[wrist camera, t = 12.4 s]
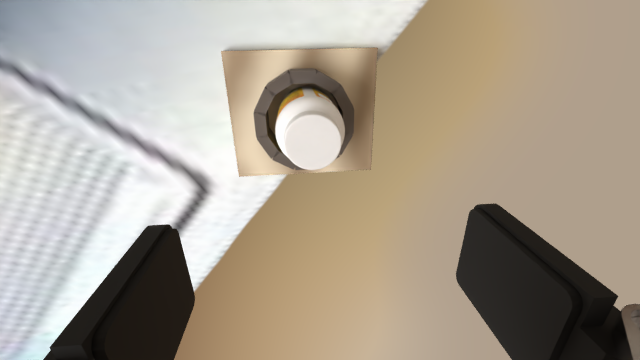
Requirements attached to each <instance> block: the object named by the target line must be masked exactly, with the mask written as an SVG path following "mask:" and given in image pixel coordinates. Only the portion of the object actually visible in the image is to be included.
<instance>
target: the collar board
mask: <svg viewBox="0 0 640 360" xmlns="http://www.w3.org/2000/svg"><path fill="white" fill-rule="evenodd" d="M377 50H378V48H341V49H296V50H251V51H221V54H222V61H223V68H224V75H225V82H226V89H227V96H228V103H229V110H230V117H231V124H232V131H233V138H234V145H235V151H236V158H237V165H238V172H239V177H240V176H259V175H278V174H296V173H316V172H333V171H353V170H371V159H372V141H373V123H374V104H375V85H376V67H377ZM306 86H308V87H313V88H316V89H319V90H320V91H322V92H323V93H324V94H326V95H327V96H328V98H329V99H330V100H331V101H332V103H333V104H334V105H335V107H336V108H337V109H338V111H339V112H340V114H341V116H342V119H343V122H344V126H345V136H344V141H343V144H342V146H341V149H340V152H339V154H338V156H337V158H336V159H335V160H334V161H333V162H332V163H331V164H330V165H328V166H326V167H324V168H322V169H317V170H307V169H303V168H300V167H298V166H297V165H295V164H294V163H293V162H292V161H291V160H290V159H289V158H288V157H287V156H286V155H285V154H284V153H283V152H282V150H281V149H280V147H279V145H278V143H277V139H276V134H275V126H276V120H277V115H278V110H279V106H280V104H281V101H282V100H283V98H284V97H285V96H286V95H287V94H288V93H289V92H290V91H292V90H294V89H296V88H299V87H306Z"/></svg>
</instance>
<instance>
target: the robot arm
mask: <svg viewBox="0 0 640 360" xmlns="http://www.w3.org/2000/svg"><path fill="white" fill-rule="evenodd" d="M456 277H457V282H458V284H459V285H460V287H461V288H462V290H463V291H464V292H465V294H466V295H467V297H468V298H469V300H470V301H471V302H472V304H473V305H474V307H475V308H476V310H477V311H478V312H479V314H480V315H481V317H482V318H483V319H484V321H485V322H486V324H487V325H488V326H489V328H490V329H491V331H492V332H493V334H494V335H495V336H496V338H497V339H498V341H499V342H500V344H501V345H502V346H503V348H504V349H505V351H506V352H507V353H508V355H509V356H510V358H511V359H512V360H640V304H631V305H626V306H625V307H624V308H623V309H622V310H621V311H619V310H618V309H617V308H616V307H614V306H613V305H614V303H615V301H616V299H617V297H618V296H617V295H616V294H615V293H613V292H612V291H611V290H610V289H608V288H607V287H606V286H604V285H603V284H602V283H600V282H599V281H597V280H596V279H595V278H594V277H592V276H591V275H590V274H589V273H587V272H586V271H585V270H583V269H582V268H581V267H579V266H578V265H577V264H575V263H574V262H573V261H571V260H570V259H569V258H567V257H566V256H565V255H564V254H562V253H561V252H560V251H558V250H557V249H556V248H554V247H553V246H552V245H550V244H549V243H548V242H546V241H545V240H544V239H543V238H541V237H540V236H539V235H537V234H536V233H535V232H533V231H532V230H531V229H529V228H528V227H527V226H525V225H524V224H523V223H521V222H520V221H519V220H517V219H516V218H515V217H514V216H512V215H511V214H510V213H508V212H507V211H506V210H504V209H503V208H502V207H500V206H499V205H497V204H480V205H476V206H475V207H474V209H472V210H471V211H470V213H469V216H468V221H467V226H466V231H465V235H464V240H463V245H462V249H461V253H460V258H459V263H458V267H457V272H456ZM194 301H195V296H194V291H193V287H192V283H191V279H190V275H189V272H188V268H187V264H186V260H185V256H184V252H183V248H182V245H181V241H180V237H179V233H178V231H177V229H172V227H171V226H170V225H152V226H147V227H146V228H145V230H144V231H143V232H142V233H141V235H140V236H139V237H138V238H137V240H136V241H135V242H134V243H133V245H132V246H131V247H130V248H129V249H128V251H127V252H126V253H125V254H124V256H123V257H122V258H121V259H120V261H119V262H118V263H117V264H116V266H115V267H114V268H113V269H112V271H111V272H110V273H109V274H108V276H107V277H106V278H105V279H104V281H103V282H102V283H101V284H100V286H99V287H98V288H97V289H96V291H95V292H94V293H93V294H92V296H91V297H90V298H89V299H88V300H87V302H86V303H85V304H84V305H83V307H82V308H81V309H80V310H79V312H78V313H77V314H76V315H75V317H74V318H73V319H72V320H71V322H70V323H69V324H68V325H67V327H66V328H65V329H64V330H63V332H62V333H61V334H60V335H59V337H58V338H57V339H56V340H55V342H54V343H53V344H52V345H51V346H50V349H51V351H50V352H49V353H48V354H47V356H46V357H45V358H44V359H43V360H174V358H175V355H176V352H177V350H178V347H179V344H180V341H181V339H182V336H183V333H184V331H185V328H186V325H187V323H188V320H189V318H190V315H191V312H192V310H193V306H194Z"/></svg>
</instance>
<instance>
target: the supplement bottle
mask: <svg viewBox="0 0 640 360" xmlns="http://www.w3.org/2000/svg"><path fill="white" fill-rule="evenodd" d="M275 134H276V139H277V143H278V145H279V147H280V149H281V150H282V152H283V153H284V154H285V155H286V156H287V157H288V158H289V159H290V160H291V161H292V162H293V163H294V164H295V165H297V166H298V167H300V168H303V169H307V170H317V169H322V168H324V167H326V166H328V165H330V164H331V163H332V162H333V161H334V160H335V159H336V158H337V156H338V154H339V152H340V149H341V146H342V144H343V141H344V136H345V126H344V122H343V119H342V116H341V114H340V112H339V111H338V109H337V108H336V107H335V105H334V104H333V103H332V101H331V100H330V99H329V98H328V96H327V95H326V94H324V93H323V92H322V91H320V90H319V89H316V88H313V87H308V86H306V87H299V88H296V89H294V90H292V91H290V92H289V93H288V94H287V95H286V96H285V97H284V98H283V100H282V101H281V104H280V106H279V110H278V115H277V120H276V126H275Z"/></svg>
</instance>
